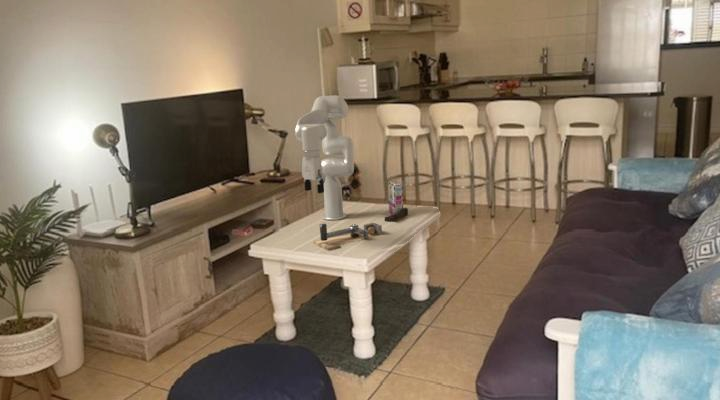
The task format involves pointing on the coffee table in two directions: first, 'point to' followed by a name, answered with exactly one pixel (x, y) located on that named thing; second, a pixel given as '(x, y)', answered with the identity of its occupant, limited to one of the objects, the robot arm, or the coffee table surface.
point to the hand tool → (397, 215)
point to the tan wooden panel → (347, 238)
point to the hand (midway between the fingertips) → (314, 191)
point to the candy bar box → (395, 197)
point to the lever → (342, 232)
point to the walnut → (371, 230)
